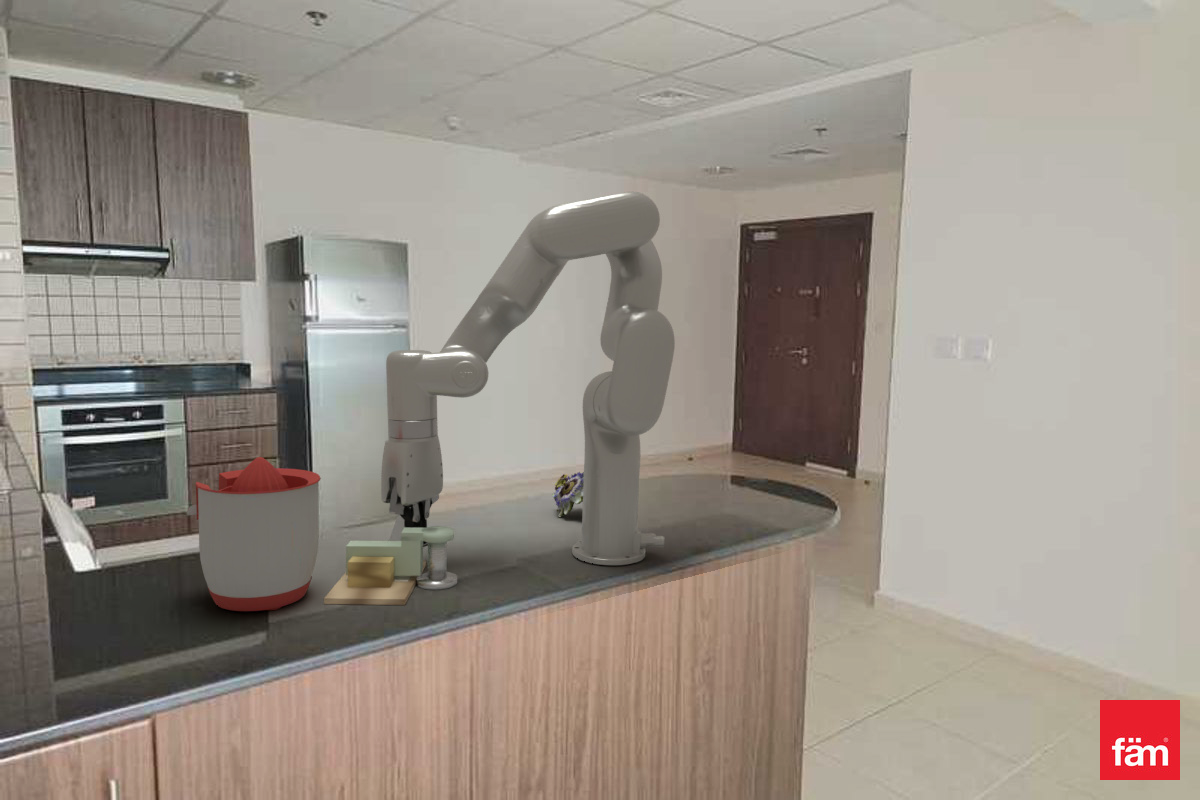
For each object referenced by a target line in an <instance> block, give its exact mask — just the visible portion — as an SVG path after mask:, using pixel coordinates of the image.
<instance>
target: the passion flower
mask: <svg viewBox="0 0 1200 800" xmlns="http://www.w3.org/2000/svg"><path fill="white" fill-rule="evenodd" d="M583 484H584V471H583V472H582V473H581V472H580V471H579V472H577V473H574V474H571V476H569V475H568V473H567V474H565V473H563V474H562V475H561V476H560V477H559V478H558V479H557V480H556V482H555V483H554V490H555V492H554V493H552V494H551V496H552V497H553V499H554V501H555V505H556V506H557V509H556V511H557V512H559V513H558V515H557V517H558V516H563V517H564V516H568V515H569V514H570V513H571V512H572V510H573V509H574V508H573V507H574V505H575V504H576V505H579V504H581V503H583Z"/></svg>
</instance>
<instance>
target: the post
mask: <svg viewBox="0 0 1200 800" xmlns="http://www.w3.org/2000/svg"><path fill="white" fill-rule="evenodd" d="M447 562H448V542H442V543H430V542H428V544H427V572H422V574H421V575H420V576H418V577H417V583H416V586H417V587H418V588H420V589H423V590H429V591H432V590H433V591H438V590H439V591H440V590H447V589H450V588H453V587H455V586H457V583H458V575H457V574H455V573H453V572H451V571H448V570H447V567H448V566H447V565H448V563H447Z"/></svg>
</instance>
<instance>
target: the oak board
mask: <svg viewBox="0 0 1200 800" xmlns="http://www.w3.org/2000/svg"><path fill="white" fill-rule="evenodd" d="M426 566H427V560H423V570H422V573H421V574H423V573H424V569H425V568H426ZM417 577H418V576H394V557H371V556H352V558H351V559H350V560H349V561H348V575H346V572H345V573H343V575H341V577H340V579H338V581H337V582H336V583H335V584H334V586H333V587H332V588H331V589H330V590H329V592H327V594H326V595H325V596H324V598H323V605H373V606H374V605H377V606H378V605H385V606H386V605H389V606H390V605H391V606H405V605H406V604H407V602H408V600H409V598H410V597H411V594H412V592H413V591H414V588H415V587H416V586H417Z"/></svg>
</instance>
